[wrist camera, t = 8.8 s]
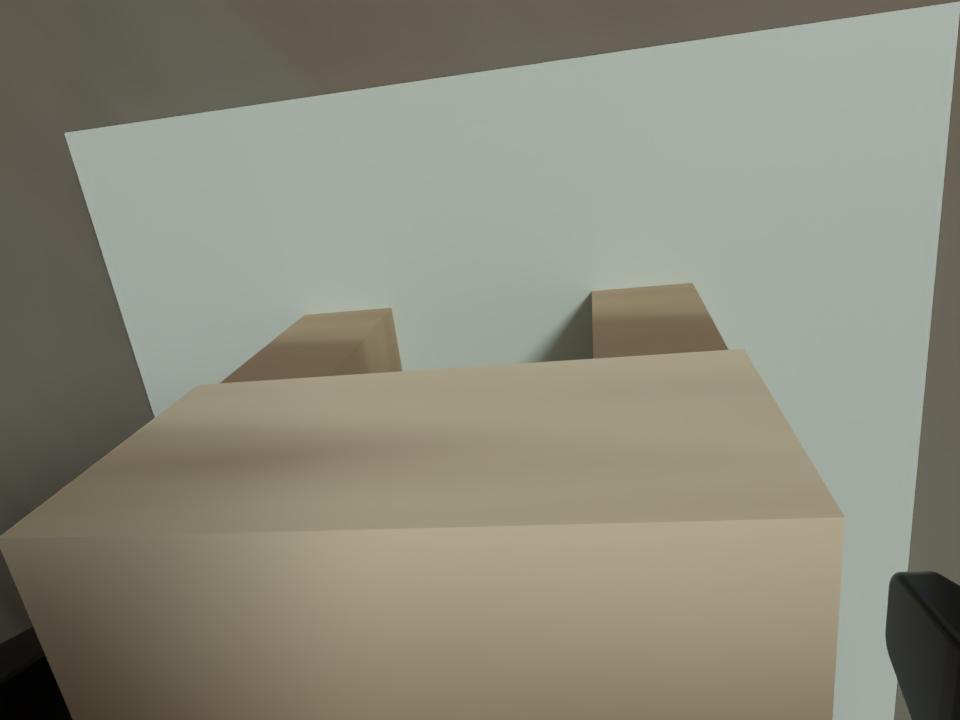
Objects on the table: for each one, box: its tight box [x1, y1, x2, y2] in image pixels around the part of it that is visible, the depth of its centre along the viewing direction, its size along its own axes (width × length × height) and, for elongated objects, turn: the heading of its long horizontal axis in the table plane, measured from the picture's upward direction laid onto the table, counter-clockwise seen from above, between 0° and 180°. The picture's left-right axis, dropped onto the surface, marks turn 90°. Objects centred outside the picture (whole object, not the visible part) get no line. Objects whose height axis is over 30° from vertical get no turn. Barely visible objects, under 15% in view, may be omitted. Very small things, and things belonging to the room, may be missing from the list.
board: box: [64, 2, 960, 720], centre depth 12 cm, size 12×12×1 cm
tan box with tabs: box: [0, 283, 845, 720], centre depth 9 cm, size 6×6×6 cm
